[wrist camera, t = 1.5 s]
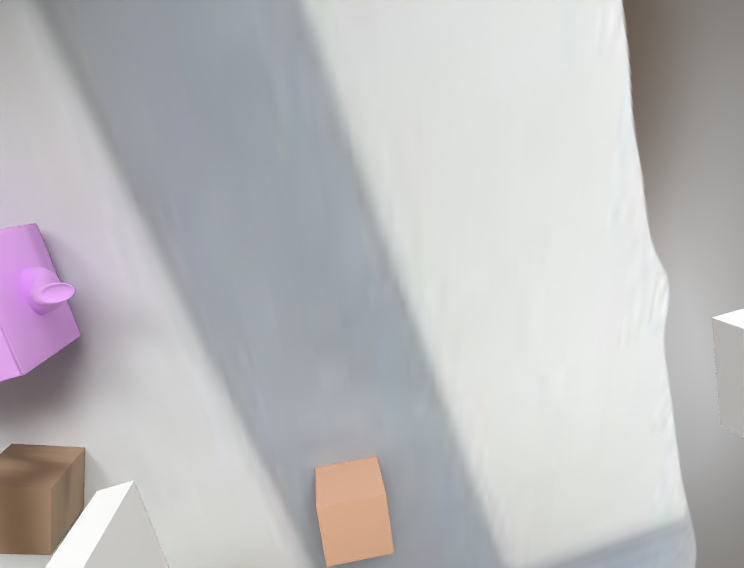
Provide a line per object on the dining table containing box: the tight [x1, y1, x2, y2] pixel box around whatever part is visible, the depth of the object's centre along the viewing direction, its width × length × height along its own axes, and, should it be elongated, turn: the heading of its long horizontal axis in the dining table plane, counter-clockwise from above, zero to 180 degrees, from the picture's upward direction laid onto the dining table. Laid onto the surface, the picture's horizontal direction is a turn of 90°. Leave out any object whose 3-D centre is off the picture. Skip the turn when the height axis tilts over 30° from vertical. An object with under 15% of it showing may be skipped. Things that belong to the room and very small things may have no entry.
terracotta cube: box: [315, 456, 394, 567], centre depth 38 cm, size 5×5×5 cm
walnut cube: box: [0, 444, 85, 555], centre depth 35 cm, size 5×5×5 cm
